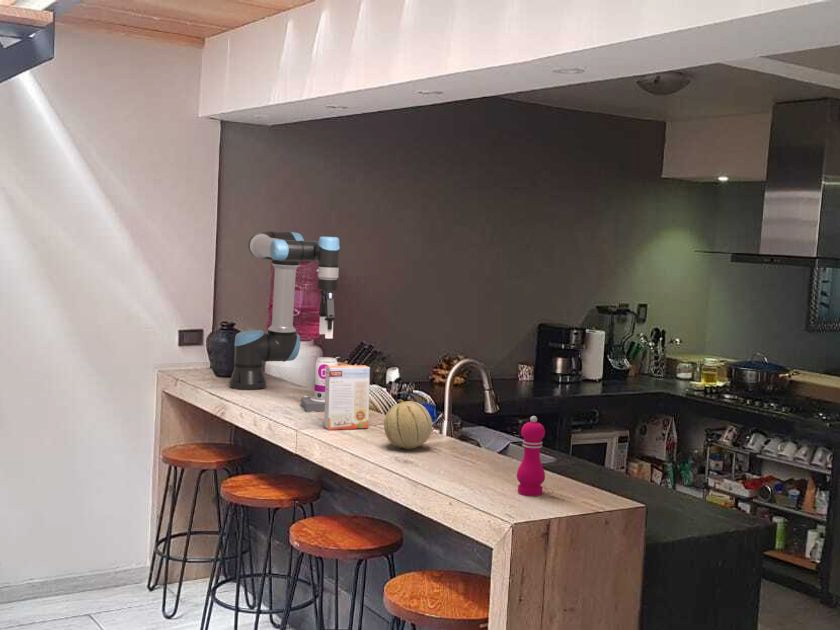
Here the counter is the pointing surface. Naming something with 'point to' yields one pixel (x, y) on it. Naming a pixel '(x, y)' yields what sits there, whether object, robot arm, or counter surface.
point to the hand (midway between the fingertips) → (325, 336)
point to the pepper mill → (531, 459)
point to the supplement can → (322, 375)
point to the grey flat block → (312, 404)
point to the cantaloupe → (407, 424)
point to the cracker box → (346, 397)
